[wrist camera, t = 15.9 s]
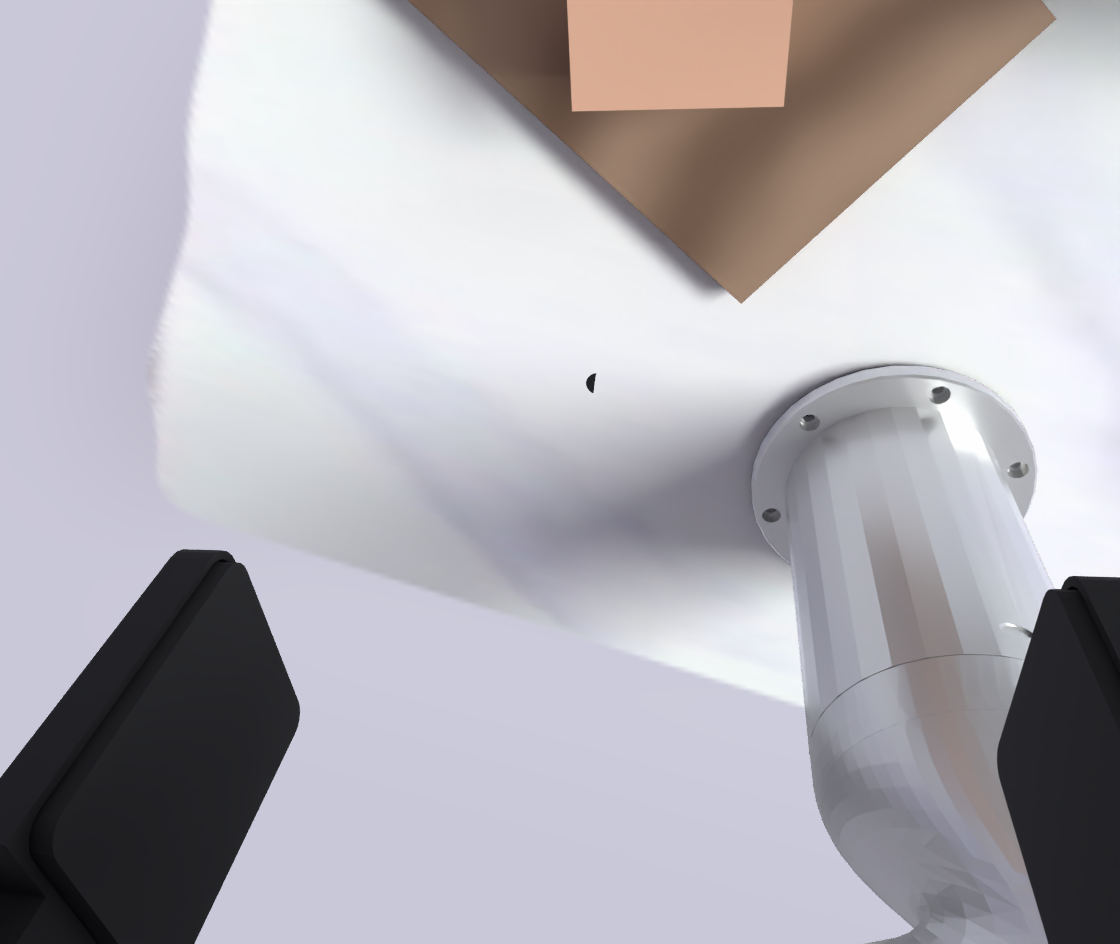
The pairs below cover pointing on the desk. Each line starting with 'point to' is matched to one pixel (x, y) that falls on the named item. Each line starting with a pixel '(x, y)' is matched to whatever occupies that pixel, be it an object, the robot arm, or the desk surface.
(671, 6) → the peach tapered block
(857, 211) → the desk surface
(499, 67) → the board
